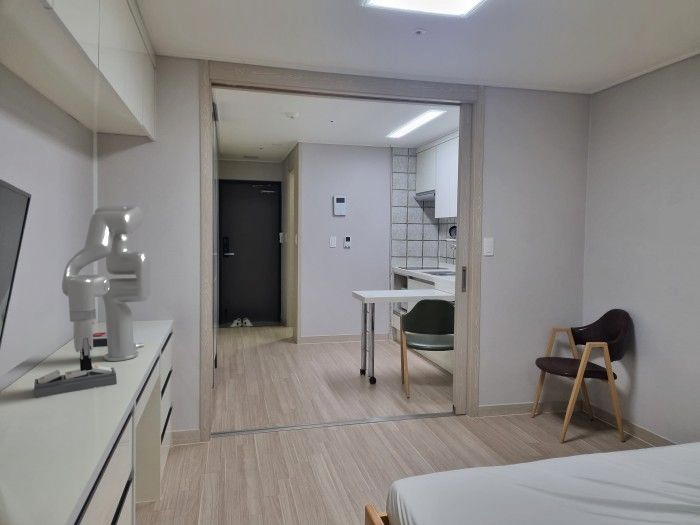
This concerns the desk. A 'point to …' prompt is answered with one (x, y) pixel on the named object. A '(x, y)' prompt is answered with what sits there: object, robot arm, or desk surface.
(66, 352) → the desk surface
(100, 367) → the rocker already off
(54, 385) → the rocker switch panel
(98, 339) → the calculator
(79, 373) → the rocker middle
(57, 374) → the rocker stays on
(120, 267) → the robot arm
